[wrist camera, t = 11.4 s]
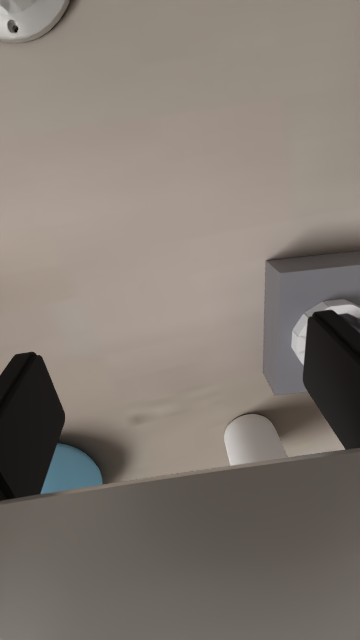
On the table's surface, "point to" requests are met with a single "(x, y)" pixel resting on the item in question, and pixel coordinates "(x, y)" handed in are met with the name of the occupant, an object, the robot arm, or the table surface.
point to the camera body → (304, 309)
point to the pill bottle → (252, 440)
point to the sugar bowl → (71, 470)
